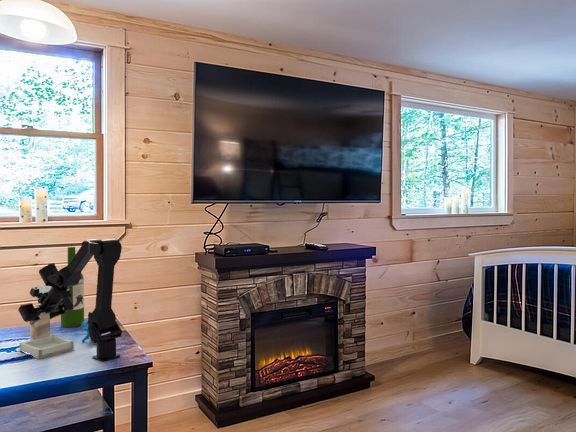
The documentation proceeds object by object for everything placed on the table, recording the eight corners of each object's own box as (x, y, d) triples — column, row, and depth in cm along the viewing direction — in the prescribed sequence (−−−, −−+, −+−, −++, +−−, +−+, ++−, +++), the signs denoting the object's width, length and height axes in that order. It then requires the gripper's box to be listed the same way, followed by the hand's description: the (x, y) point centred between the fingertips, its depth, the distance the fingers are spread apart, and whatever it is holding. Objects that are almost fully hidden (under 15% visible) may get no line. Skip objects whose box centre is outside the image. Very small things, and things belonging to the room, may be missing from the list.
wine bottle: (73, 328, 192) (72, 248, 191) (56, 326, 195) (54, 248, 194) (89, 322, 201) (87, 246, 200) (72, 320, 204) (70, 245, 202)
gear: (101, 340, 170) (81, 321, 170) (88, 353, 169) (68, 334, 169) (107, 336, 181) (88, 318, 181) (96, 347, 180) (76, 329, 179)
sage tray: (73, 349, 165) (73, 341, 165) (38, 359, 155) (38, 350, 155) (53, 343, 173) (53, 334, 173) (19, 351, 163) (19, 343, 163)
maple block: (50, 339, 177) (49, 304, 176) (37, 343, 173) (35, 307, 172) (43, 337, 180) (42, 303, 179) (30, 340, 176) (28, 306, 175)
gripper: (68, 275, 181) (51, 300, 187) (20, 282, 165) (3, 310, 171) (82, 297, 178) (64, 322, 184) (34, 307, 162) (16, 334, 168)
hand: (38, 321), depth 177 cm, fingers closed on maple block, 5 cm apart
